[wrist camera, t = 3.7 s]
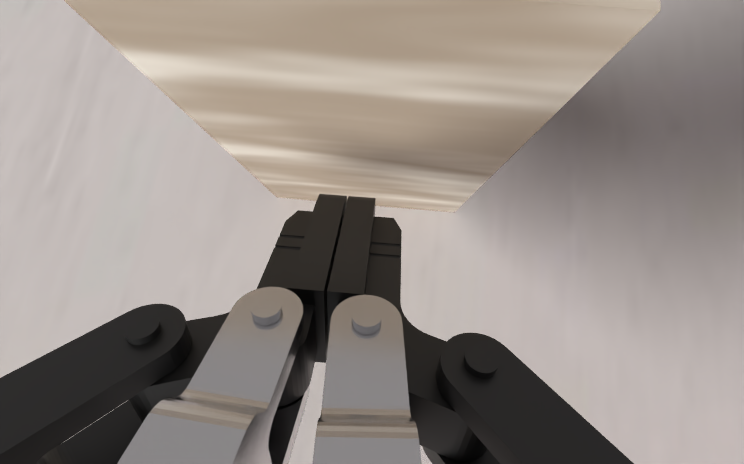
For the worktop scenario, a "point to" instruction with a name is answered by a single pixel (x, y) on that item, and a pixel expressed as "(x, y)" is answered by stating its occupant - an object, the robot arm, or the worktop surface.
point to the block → (370, 83)
